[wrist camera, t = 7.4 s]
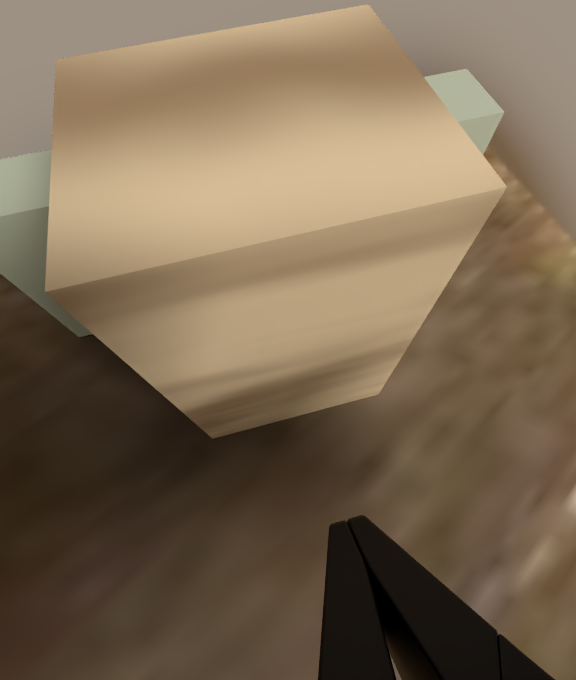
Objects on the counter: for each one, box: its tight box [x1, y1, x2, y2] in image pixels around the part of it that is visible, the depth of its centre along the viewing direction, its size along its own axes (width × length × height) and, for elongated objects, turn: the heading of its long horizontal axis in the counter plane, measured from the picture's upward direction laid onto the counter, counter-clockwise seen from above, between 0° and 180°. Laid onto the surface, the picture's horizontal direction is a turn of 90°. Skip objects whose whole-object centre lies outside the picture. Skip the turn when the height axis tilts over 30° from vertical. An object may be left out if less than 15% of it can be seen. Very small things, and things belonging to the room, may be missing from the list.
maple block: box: [45, 5, 507, 439], centre depth 13 cm, size 7×8×12 cm
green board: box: [0, 69, 504, 337], centre depth 17 cm, size 3×20×8 cm, turn 105°
